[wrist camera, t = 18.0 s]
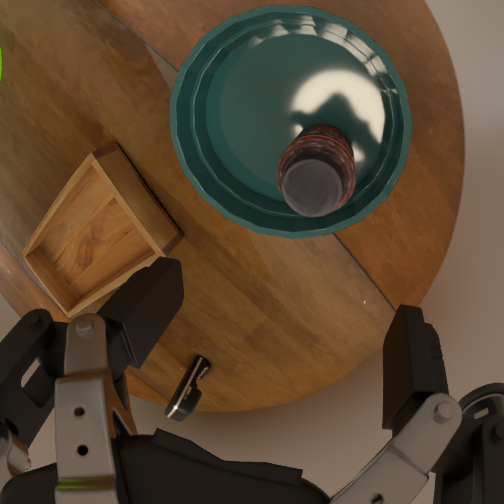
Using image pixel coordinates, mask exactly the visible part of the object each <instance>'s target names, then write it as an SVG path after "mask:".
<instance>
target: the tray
mask: <svg viewBox="0 0 504 504" xmlns="http://www.w3.org/2000/svg"><path fill="white" fill-rule="evenodd" d="M182 238H183V235H182V234H181V232H180V231H179V230H178V228H177V227H176V226H175V224H174V223H173V222H172V220H171V219H170V218H169V216H168V215H167V213H166V212H165V211H164V209H163V208H162V207H161V205H160V204H159V202H158V201H157V200H156V198H155V197H154V195H153V194H152V193H151V191H150V190H149V189H148V187H147V186H146V184H145V183H144V182H143V180H142V179H141V177H140V176H139V175H138V173H137V172H136V170H135V169H134V168H133V166H132V165H131V163H130V162H129V160H128V159H127V157H126V156H125V155H124V153H123V152H122V150H121V149H120V147H119V146H118V144H117V143H115V144H111V145H108V146H105V147H103V148H100V149H98V150H95V151H93V152H91V153H90V154H89V156H88V157H87V158H86V159H85V160H84V162H83V163H82V164H81V165H80V167H79V168H78V169H77V171H76V172H75V173H74V175H73V176H72V177H71V179H70V180H69V181H68V183H67V184H66V185H65V187H64V188H63V189H62V191H61V192H60V194H59V195H58V197H57V198H56V200H55V201H54V203H53V204H52V206H51V207H50V208H49V210H48V211H47V213H46V214H45V216H44V218H43V219H42V221H41V222H40V224H39V225H38V227H37V229H36V230H35V232H34V233H33V235H32V237H31V238H30V240H29V242H28V244H27V245H26V247H25V249H24V251H23V253H22V257H23V258H24V260H25V261H26V263H27V264H28V266H29V267H30V268H31V270H32V271H33V273H34V274H35V275H36V277H37V278H38V280H39V281H40V282H41V284H42V285H43V286H44V288H45V289H46V290H47V291H48V293H49V294H50V295H51V297H52V298H53V299H54V300H55V302H56V303H57V304H58V305H59V307H60V308H61V309H62V310H63V311H64V313H65V314H66V315H67V316H68V317H71V316H72V315H74V314H75V313H77V312H78V311H80V310H81V309H83V308H84V307H86V306H88V305H89V304H91V303H92V302H94V301H95V300H97V299H98V298H100V297H102V296H103V295H105V294H106V293H108V292H110V291H111V290H113V289H114V288H116V287H118V286H119V285H121V284H123V283H124V282H126V280H127V279H128V278H129V277H130V276H131V275H132V274H133V273H134V272H136V271H138V270H140V269H141V268H143V267H145V266H147V267H149V266H150V265H151V264H152V263H153V262H154V261H155V260H156V259H157V258H158V257H159V256H163V257H167V256H168V255H169V253H170V252H171V251H172V250H173V249H174V248H175V247H176V246H177V245H178V244H179V243H180V241H181V240H182Z"/></svg>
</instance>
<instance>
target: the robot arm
mask: <svg viewBox="0 0 504 504" xmlns="http://www.w3.org/2000/svg"><path fill="white" fill-rule="evenodd" d="M183 298H184V288H183V279H182V269H181V263H180V261H179V260H176V259H172V258H167V257H163V256H159V257H158V258H157V259H156V260H155V261H154V262H153V263H152V264H151V265H150V266H149V267H147V266H145V267H143V268H141V269H140V270H138V271H136V272H134V273H133V274H132V275H131V276H130V277H129V278H128V279H127V280H126V283H124V284H123V285H122V286H121V287H120V289H118V290H117V291H116V292H115V293H114V294H113V295H112V296H111V298H110V299H109V300H108V301H107V302H106V303H105V304H104V305H103V306H102V307H101V308H100V309H99V311H98V312H97V313H96V314H93V313H87V314H83V315H80V316H78V317H76V318H75V319H73V320H72V321H71V322H70V323H66V322H56V321H53V319H52V317H51V314H50V313H49V311H47V310H45V309H35V310H32V311H30V312H28V313H27V314H25V315H24V316H23V317H22V318H21V320H20V321H19V322H18V323H17V324H16V325H15V326H14V327H13V329H12V330H11V331H10V332H9V333H8V334H7V335H6V336H5V338H4V339H3V340H2V341H1V342H0V504H411V502H412V501H413V500H414V499H415V498H416V496H417V495H418V494H419V493H420V491H421V490H422V489H423V487H424V486H425V485H426V483H427V482H428V480H429V476H428V473H429V471H431V472H434V473H436V478H435V490H434V500H433V504H504V394H503V393H501V392H491V393H487V394H484V395H481V396H479V397H477V398H475V399H474V400H472V401H471V402H469V403H468V404H467V405H466V406H465V407H464V408H463V410H461V407H460V405H459V403H458V402H457V401H456V400H455V399H454V398H453V397H451V396H450V395H449V391H448V384H447V379H446V372H445V367H444V361H443V359H442V357H443V356H442V351H441V349H440V348H441V346H440V342H439V337H438V334H437V332H436V331H435V329H434V328H433V326H432V325H431V324H428V323H425V322H424V318H423V313H422V309H421V308H420V307H415V306H409V305H403V304H401V305H400V306H399V307H398V309H397V312H396V314H395V316H394V319H393V321H392V323H391V325H390V327H389V330H388V332H387V334H386V337H385V340H384V344H383V422H382V429H388V430H392V438H391V439H390V440H389V441H388V443H387V444H386V445H385V446H384V447H383V448H382V449H381V450H380V451H379V452H378V453H377V454H376V455H375V456H374V457H373V458H372V459H371V461H370V462H368V463H367V465H366V466H364V468H363V469H361V470H360V471H359V472H358V473H357V474H356V475H355V476H354V477H353V478H352V479H351V480H350V481H348V482H347V483H346V484H345V485H344V486H343V487H342V488H340V489H339V490H338V491H337V492H336V493H335V494H333V495H332V496H331V497H329V496H328V495H327V494H326V493H325V492H324V491H323V490H322V489H320V488H319V487H317V486H316V485H315V484H313V483H311V482H310V481H308V480H306V479H304V478H301V476H302V472H303V470H302V469H296V468H291V467H286V466H281V465H276V464H272V463H267V462H239V461H225V460H222V459H220V458H218V457H216V456H215V455H213V454H211V453H210V452H208V451H206V450H204V449H203V448H201V447H200V446H198V445H197V444H195V443H194V442H192V441H190V440H188V439H185V438H182V437H179V436H177V435H174V434H172V433H169V432H166V431H164V430H161V429H159V428H157V429H156V431H155V433H154V435H142V434H141V435H138V432H137V429H136V426H135V423H134V421H133V417H132V413H131V408H130V402H129V395H128V389H127V382H126V375H125V372H124V370H125V369H126V367H127V366H128V365H130V366H133V367H135V368H137V369H139V368H140V367H141V365H142V364H143V362H144V361H145V359H146V358H147V356H148V355H149V353H150V352H151V350H152V349H153V347H154V346H155V344H156V343H157V341H158V340H159V338H160V337H161V335H162V334H163V332H164V331H165V329H166V328H167V326H168V325H169V324H170V322H171V321H172V319H173V318H174V316H175V315H176V313H177V312H178V310H179V309H180V307H181V305H182V302H183ZM36 358H37V360H38V362H39V363H40V365H39V367H38V368H37V369H36V371H35V372H34V373H33V375H32V376H31V377H30V379H29V380H28V382H27V383H26V384H25V386H24V387H23V388H22V387H21V379H22V376H23V375H24V374H25V372H26V371H27V370H28V368H29V367H30V366H31V364H32V363H33V362H34V361H35V359H36ZM54 406H55V444H56V459H57V462H56V463H53V464H50V465H47V466H43V467H40V468H37V469H34V470H31V471H27V472H25V470H28V469H29V468H30V467H31V461H30V459H29V458H28V448H29V447H30V445H31V443H32V441H33V440H34V438H35V436H36V435H37V433H38V432H39V430H40V428H41V427H42V425H43V423H44V422H45V420H46V419H47V417H48V416H49V414H50V412H51V411H52V409H53V408H54Z"/></svg>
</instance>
